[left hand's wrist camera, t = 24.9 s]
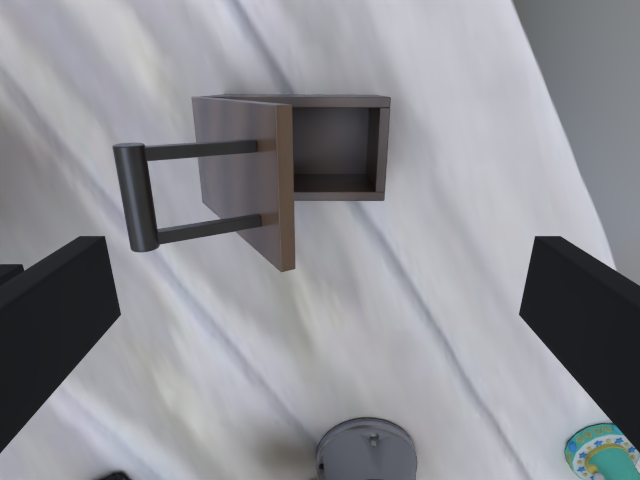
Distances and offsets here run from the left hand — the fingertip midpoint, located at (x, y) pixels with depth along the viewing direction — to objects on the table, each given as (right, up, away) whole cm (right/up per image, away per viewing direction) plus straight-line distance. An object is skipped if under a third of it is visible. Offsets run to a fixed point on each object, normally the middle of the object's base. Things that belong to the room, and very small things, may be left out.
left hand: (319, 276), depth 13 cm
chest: (-2, +13, +33) cm, 35 cm away
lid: (-6, +6, +17) cm, 19 cm away
